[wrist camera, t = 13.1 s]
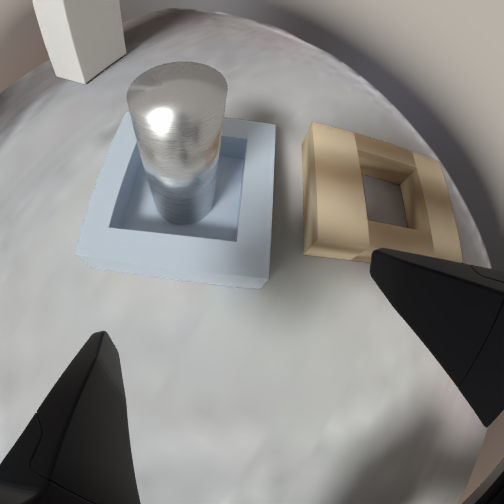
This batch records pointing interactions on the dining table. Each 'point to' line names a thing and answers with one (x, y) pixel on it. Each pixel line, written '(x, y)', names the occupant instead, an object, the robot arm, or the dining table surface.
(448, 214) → the tan rectangular frame
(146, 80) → the steel axle
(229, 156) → the seat block
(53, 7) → the milk carton
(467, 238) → the dining table surface
